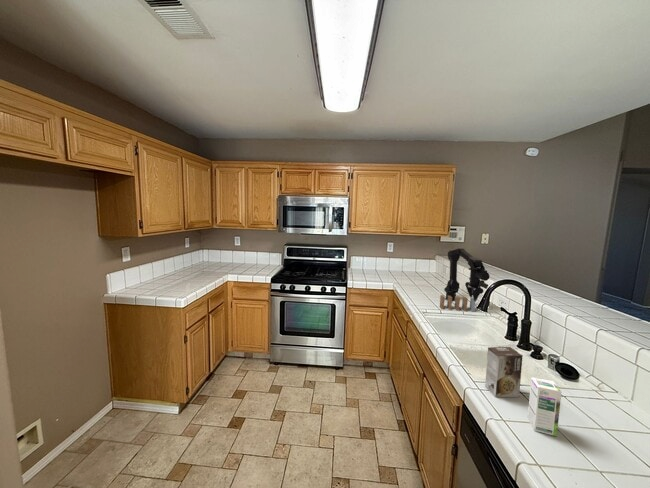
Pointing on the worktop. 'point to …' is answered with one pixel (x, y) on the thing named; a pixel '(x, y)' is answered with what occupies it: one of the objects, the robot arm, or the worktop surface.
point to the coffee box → (503, 371)
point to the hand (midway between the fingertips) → (473, 299)
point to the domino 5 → (472, 304)
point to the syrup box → (544, 406)
